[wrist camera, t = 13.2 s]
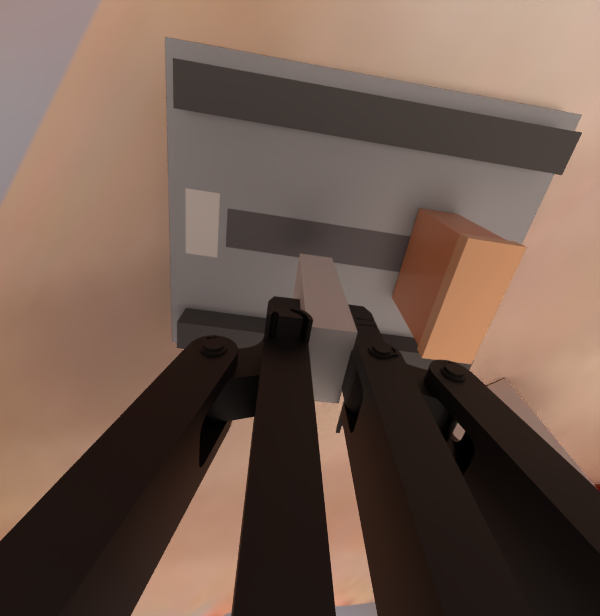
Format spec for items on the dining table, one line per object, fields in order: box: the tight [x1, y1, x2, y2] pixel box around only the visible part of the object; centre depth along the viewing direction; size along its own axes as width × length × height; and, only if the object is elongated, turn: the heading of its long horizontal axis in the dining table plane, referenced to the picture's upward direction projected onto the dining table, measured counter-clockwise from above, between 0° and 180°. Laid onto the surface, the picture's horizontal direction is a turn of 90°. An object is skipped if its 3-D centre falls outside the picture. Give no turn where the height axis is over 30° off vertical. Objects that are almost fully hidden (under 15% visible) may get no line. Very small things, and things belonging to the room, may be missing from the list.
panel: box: [165, 37, 582, 342], centre depth 23 cm, size 22×18×2 cm
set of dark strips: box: [173, 58, 582, 370], centre depth 21 cm, size 20×16×2 cm
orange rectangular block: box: [392, 208, 527, 364], centre depth 19 cm, size 3×6×7 cm, turn 171°
